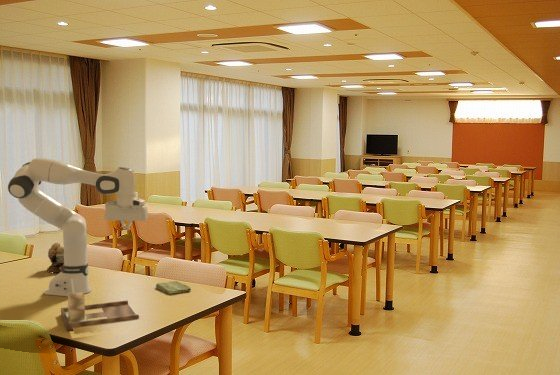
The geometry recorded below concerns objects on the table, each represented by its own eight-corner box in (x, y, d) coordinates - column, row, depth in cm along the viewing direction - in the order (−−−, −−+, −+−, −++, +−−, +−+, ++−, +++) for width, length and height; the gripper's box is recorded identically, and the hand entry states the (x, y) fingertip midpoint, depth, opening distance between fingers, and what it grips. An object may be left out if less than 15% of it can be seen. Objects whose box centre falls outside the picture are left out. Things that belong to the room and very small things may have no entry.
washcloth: (170, 296, 286) (169, 290, 285) (154, 288, 299) (154, 282, 299) (193, 292, 294) (193, 286, 293) (176, 285, 308) (176, 279, 307)
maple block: (83, 314, 249) (82, 292, 248) (84, 318, 244) (84, 295, 243) (68, 316, 246) (67, 293, 245) (69, 320, 241) (69, 297, 240)
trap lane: (127, 306, 267) (127, 300, 266) (138, 321, 245) (138, 314, 245) (61, 314, 254) (61, 308, 254) (67, 331, 232) (66, 324, 232)
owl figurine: (75, 271, 334) (74, 243, 332) (55, 275, 325) (54, 245, 324) (62, 266, 346) (61, 238, 345) (42, 269, 338) (41, 241, 336)
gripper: (102, 201, 273) (103, 230, 274) (144, 202, 271) (145, 231, 272) (107, 200, 279) (108, 228, 280) (148, 200, 278) (149, 229, 279)
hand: (126, 229), depth 276 cm, fingers closed
